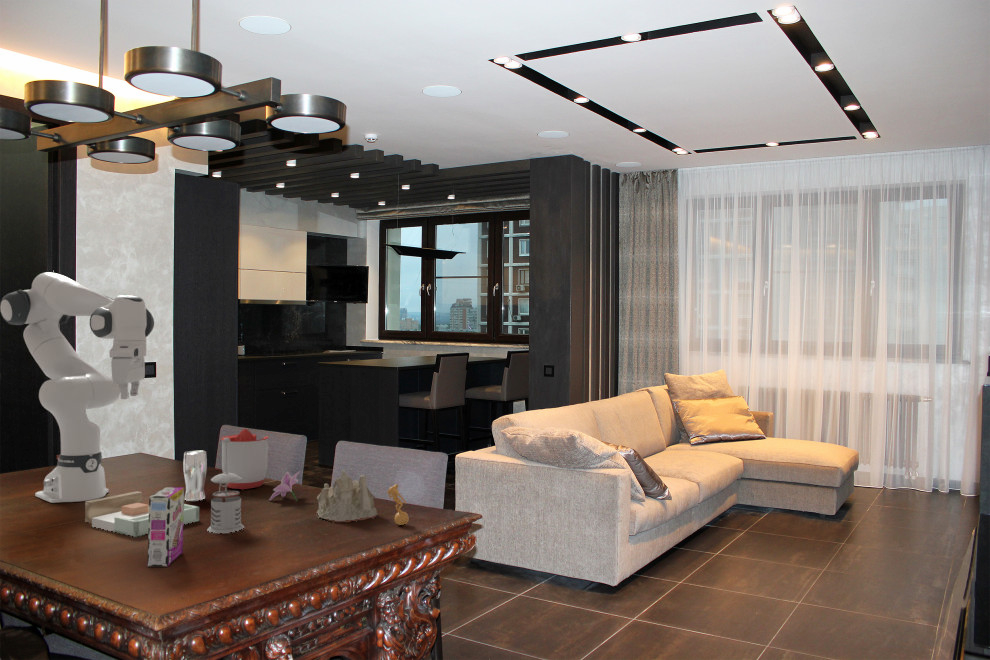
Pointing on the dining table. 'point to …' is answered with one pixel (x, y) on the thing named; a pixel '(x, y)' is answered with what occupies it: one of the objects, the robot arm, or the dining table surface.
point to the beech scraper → (110, 504)
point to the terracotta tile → (135, 509)
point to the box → (142, 525)
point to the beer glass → (195, 474)
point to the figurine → (401, 516)
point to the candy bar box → (165, 526)
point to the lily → (285, 485)
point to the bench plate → (108, 520)
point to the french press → (226, 504)
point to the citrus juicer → (245, 459)
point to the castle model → (346, 499)
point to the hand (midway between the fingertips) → (129, 397)
